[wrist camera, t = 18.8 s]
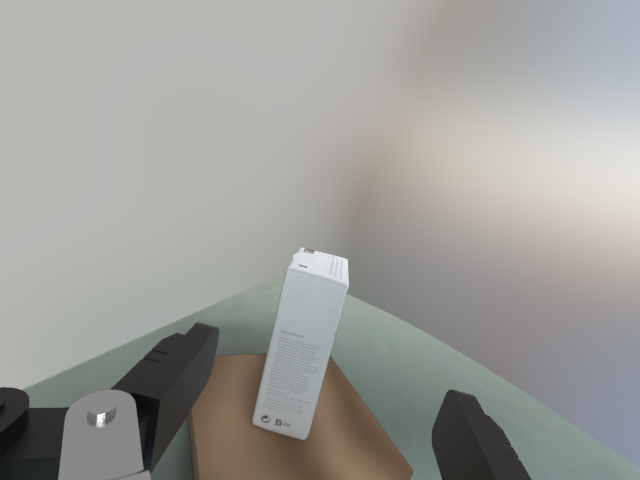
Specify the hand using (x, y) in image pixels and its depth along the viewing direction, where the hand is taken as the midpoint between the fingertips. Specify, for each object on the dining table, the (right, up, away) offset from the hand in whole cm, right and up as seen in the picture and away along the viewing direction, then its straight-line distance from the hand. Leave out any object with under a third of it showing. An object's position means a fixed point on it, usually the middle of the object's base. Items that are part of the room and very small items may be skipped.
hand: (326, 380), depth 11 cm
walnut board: (-3, -10, +15) cm, 18 cm away
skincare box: (-3, -8, +15) cm, 17 cm away
